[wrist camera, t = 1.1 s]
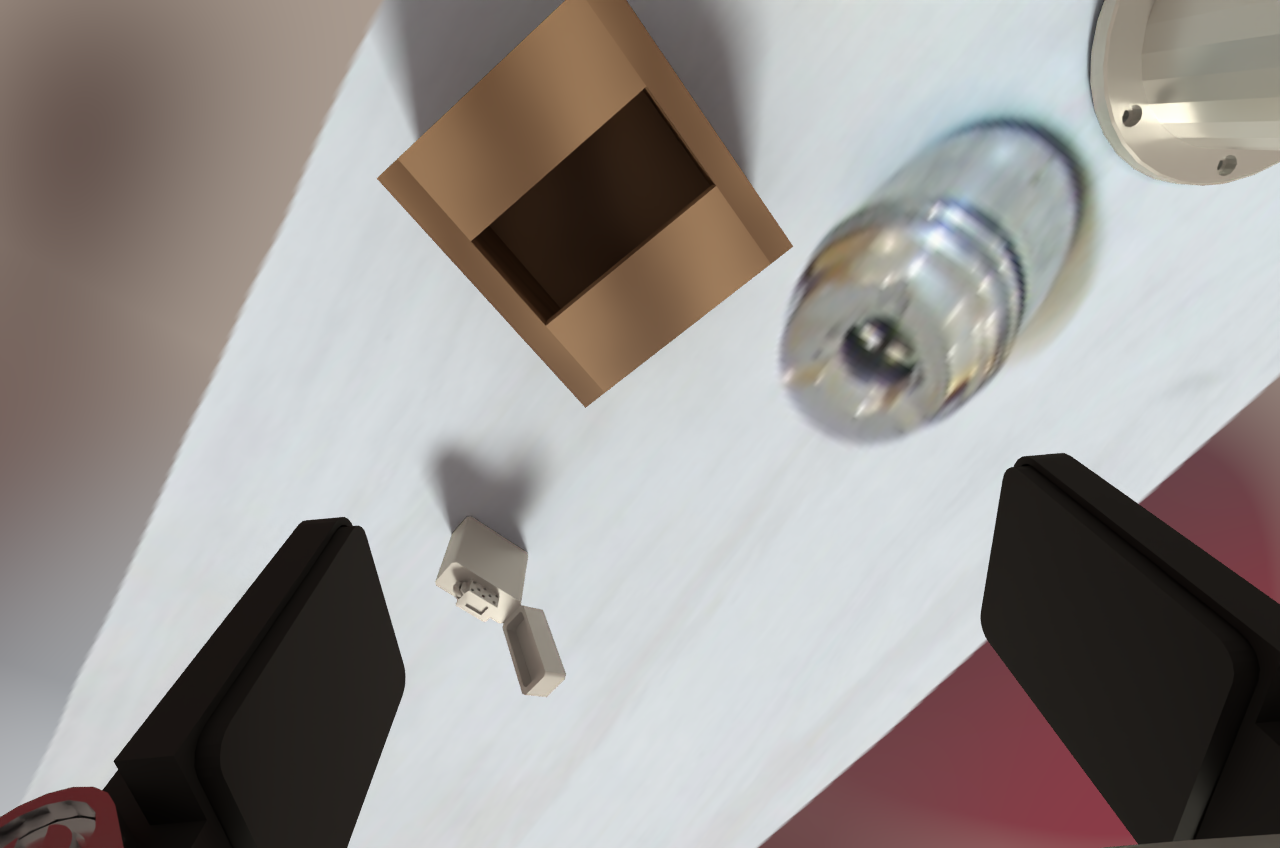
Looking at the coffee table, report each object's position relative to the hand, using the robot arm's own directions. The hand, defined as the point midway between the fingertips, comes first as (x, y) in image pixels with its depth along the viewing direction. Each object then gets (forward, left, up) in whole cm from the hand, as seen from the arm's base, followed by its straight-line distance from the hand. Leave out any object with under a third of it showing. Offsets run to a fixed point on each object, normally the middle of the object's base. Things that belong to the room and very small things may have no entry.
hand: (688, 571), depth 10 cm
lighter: (+15, +9, -24) cm, 29 cm away
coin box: (-1, -3, -24) cm, 24 cm away
